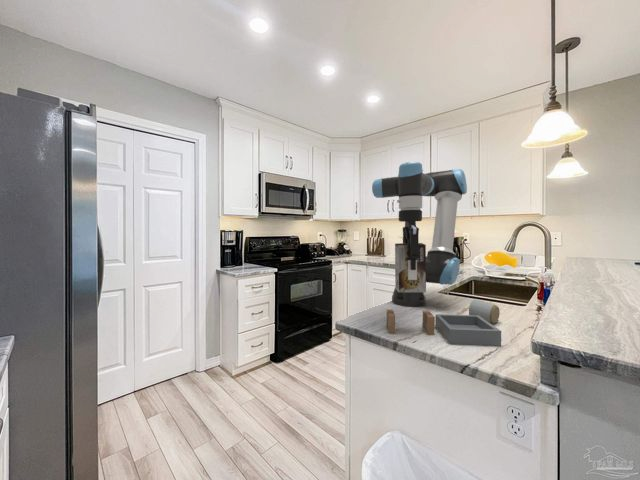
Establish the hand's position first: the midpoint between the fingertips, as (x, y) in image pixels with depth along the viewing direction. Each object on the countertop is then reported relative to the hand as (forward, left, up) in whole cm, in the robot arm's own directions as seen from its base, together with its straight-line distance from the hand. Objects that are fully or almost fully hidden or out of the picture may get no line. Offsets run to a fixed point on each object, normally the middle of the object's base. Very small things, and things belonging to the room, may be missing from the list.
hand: (410, 277), depth 92 cm
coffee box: (0, 0, -5) cm, 5 cm away
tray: (+3, +17, -18) cm, 25 cm away
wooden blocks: (0, 0, -18) cm, 18 cm away
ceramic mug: (-13, +30, -19) cm, 38 cm away
